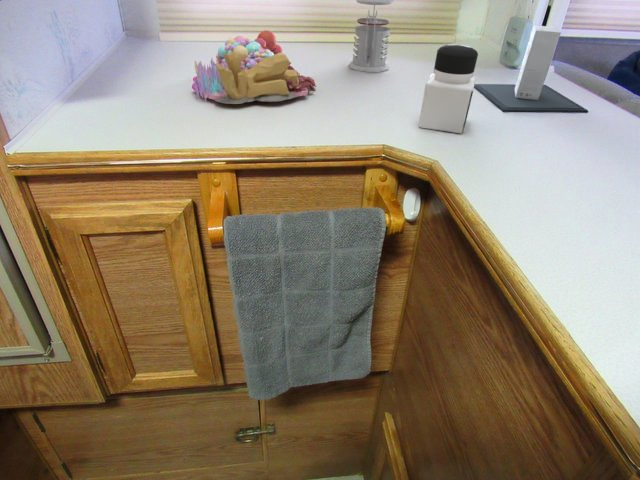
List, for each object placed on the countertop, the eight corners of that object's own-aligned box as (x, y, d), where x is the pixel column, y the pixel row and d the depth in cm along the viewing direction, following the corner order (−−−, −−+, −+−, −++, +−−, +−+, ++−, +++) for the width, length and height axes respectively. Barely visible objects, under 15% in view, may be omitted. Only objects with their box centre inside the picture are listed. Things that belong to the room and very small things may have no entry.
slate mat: (544, 86, 90) (545, 84, 90) (587, 112, 78) (588, 109, 77) (472, 85, 89) (472, 83, 89) (503, 112, 77) (503, 109, 76)
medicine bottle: (462, 134, 67) (481, 54, 60) (417, 127, 69) (431, 48, 62) (466, 120, 73) (484, 44, 66) (424, 113, 74) (437, 40, 67)
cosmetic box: (538, 101, 80) (561, 32, 73) (514, 98, 82) (535, 30, 74) (536, 92, 85) (557, 26, 78) (513, 89, 86) (533, 24, 79)
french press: (390, 62, 103) (405, -63, 89) (388, 75, 94) (404, -63, 79) (350, 59, 105) (359, -65, 90) (344, 72, 95) (352, -65, 81)
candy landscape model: (335, 97, 80) (338, 45, 75) (216, 117, 70) (209, 58, 65) (277, 66, 98) (276, 22, 92) (175, 78, 88) (167, 29, 82)
